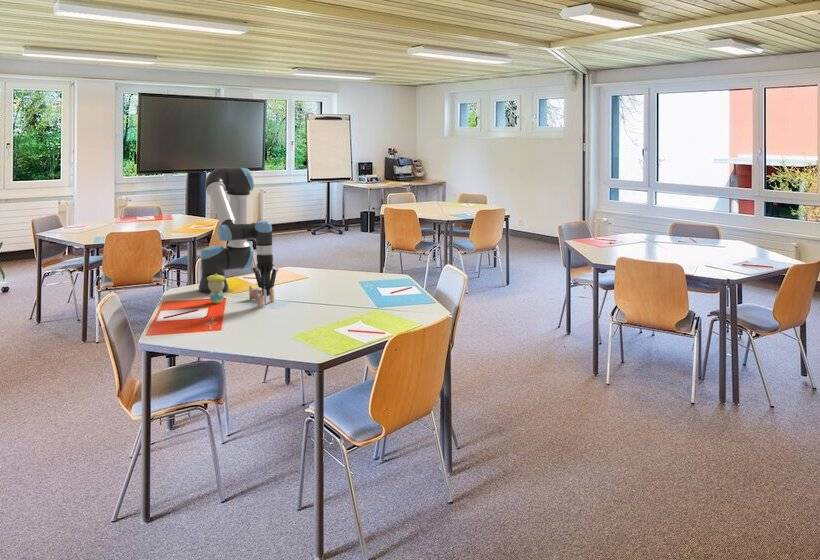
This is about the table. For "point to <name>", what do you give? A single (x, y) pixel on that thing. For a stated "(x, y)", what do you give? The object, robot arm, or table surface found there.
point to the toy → (216, 287)
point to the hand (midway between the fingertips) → (266, 302)
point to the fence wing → (261, 299)
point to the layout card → (269, 304)
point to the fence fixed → (254, 293)
